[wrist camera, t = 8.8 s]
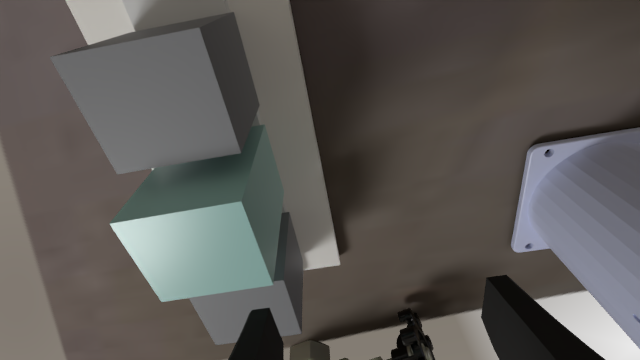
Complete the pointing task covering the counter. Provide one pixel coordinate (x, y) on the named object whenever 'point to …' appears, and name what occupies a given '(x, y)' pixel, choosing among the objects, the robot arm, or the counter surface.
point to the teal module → (207, 223)
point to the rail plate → (274, 106)
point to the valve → (409, 356)
